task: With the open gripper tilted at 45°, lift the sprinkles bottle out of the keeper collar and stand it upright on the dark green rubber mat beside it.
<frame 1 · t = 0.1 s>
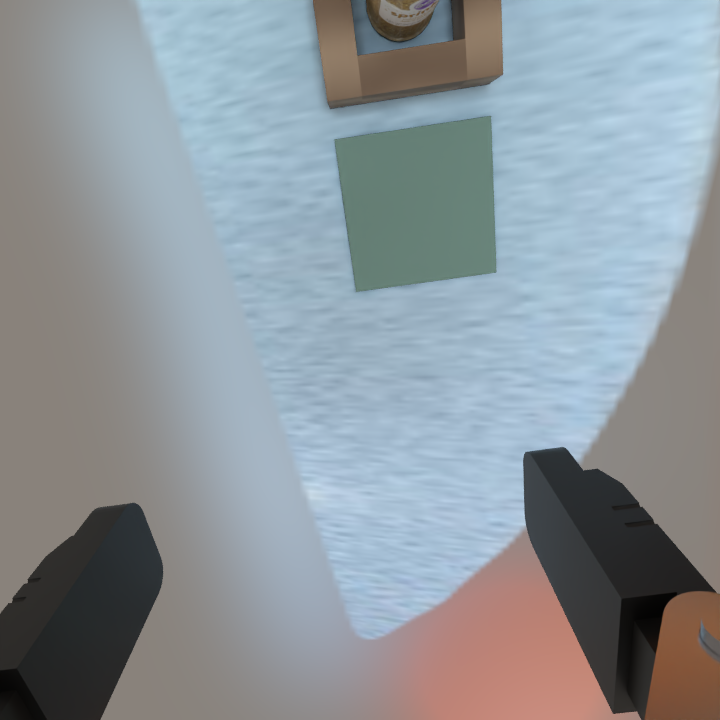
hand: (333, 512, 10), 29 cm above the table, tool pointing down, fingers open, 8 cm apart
sprinkles bottle: (399, 2, 31), resting in keeper collar
keeper collar: (400, 1, 31), on the table
rubber mat: (418, 208, 36), on the table
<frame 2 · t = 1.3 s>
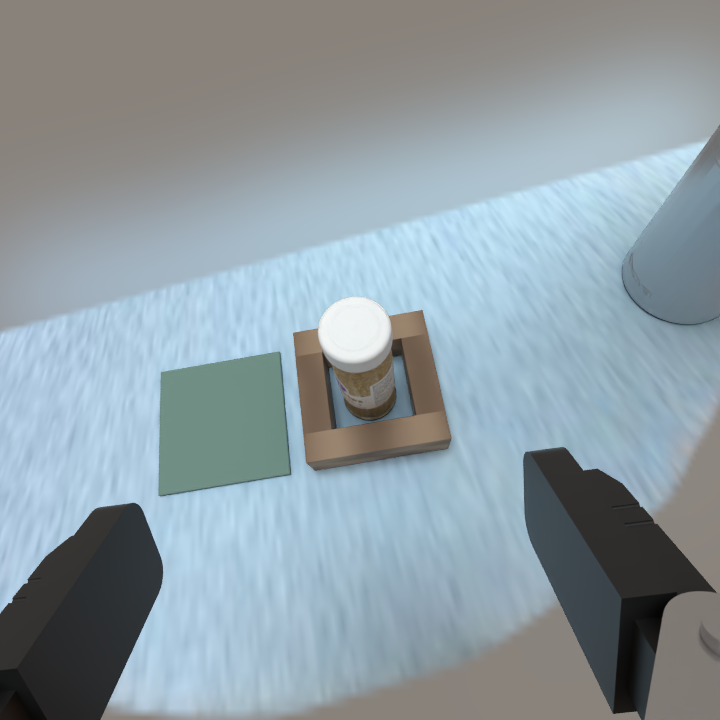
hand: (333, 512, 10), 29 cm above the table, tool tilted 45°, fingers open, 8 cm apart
sprinkles bottle: (370, 396, 41), resting in keeper collar
keeper collar: (370, 396, 41), on the table
rubber mat: (223, 421, 42), on the table
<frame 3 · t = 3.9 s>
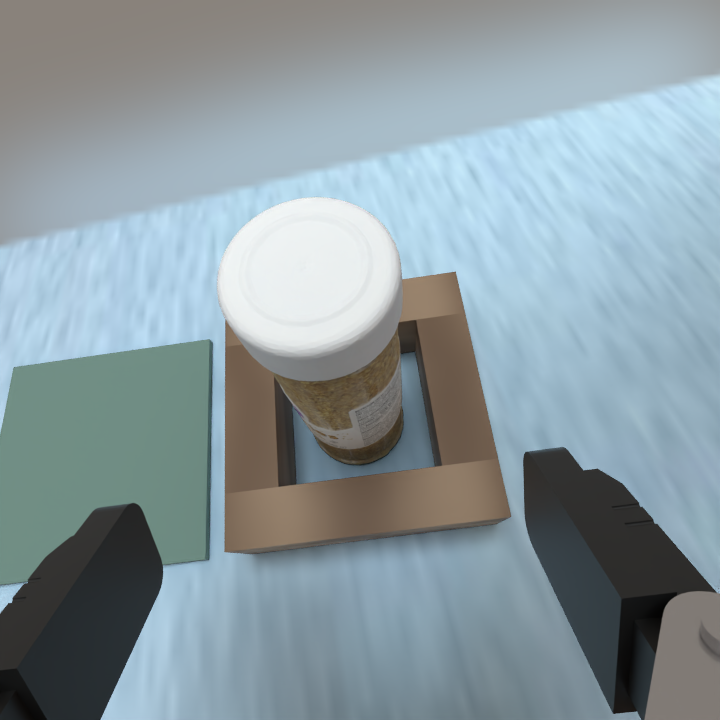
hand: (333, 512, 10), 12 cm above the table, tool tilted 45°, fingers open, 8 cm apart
sprinkles bottle: (359, 422, 24), resting in keeper collar
keeper collar: (359, 421, 24), on the table
rubber mat: (104, 455, 24), on the table
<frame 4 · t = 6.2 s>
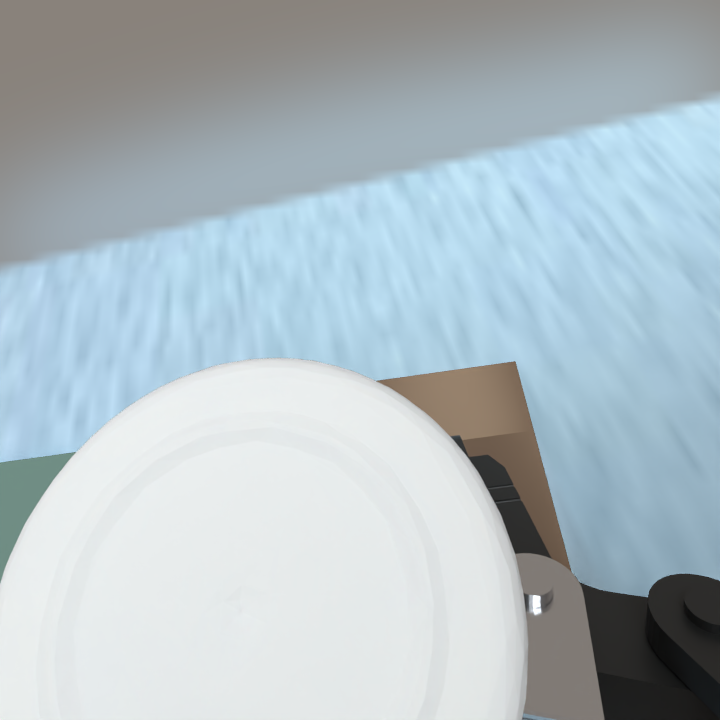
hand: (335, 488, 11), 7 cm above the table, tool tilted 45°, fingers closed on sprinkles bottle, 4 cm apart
sprinkles bottle: (369, 574, 16), resting in keeper collar, touching gripper
keeper collar: (369, 574, 16), on the table
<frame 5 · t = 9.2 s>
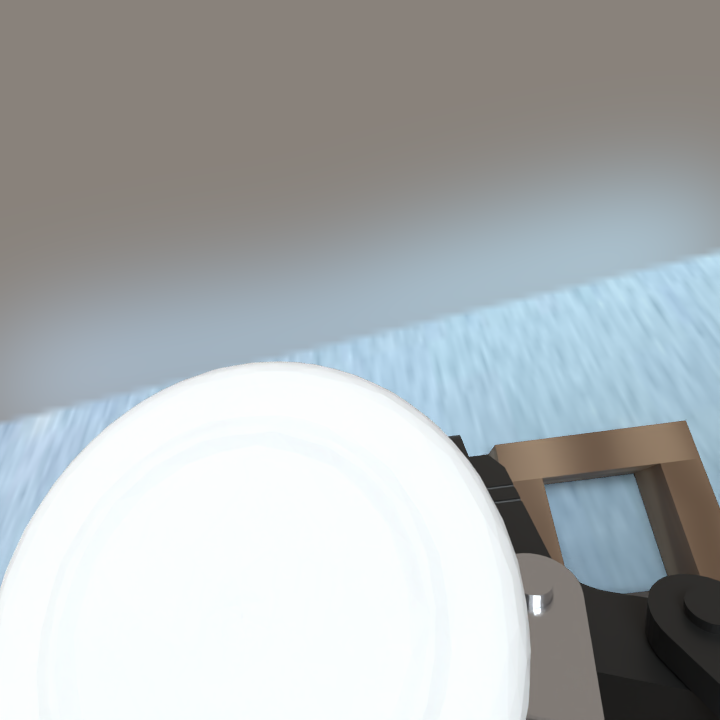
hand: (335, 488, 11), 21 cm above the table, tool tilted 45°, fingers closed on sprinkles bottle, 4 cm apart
sprinkles bottle: (370, 576, 16), point 15 cm above the table, touching gripper
keeper collar: (596, 534, 29), on the table
when the fingers open (8 cm above the table, at t = 12.1 s): sprinkles bottle drops 1 cm, resting on rubber mat.
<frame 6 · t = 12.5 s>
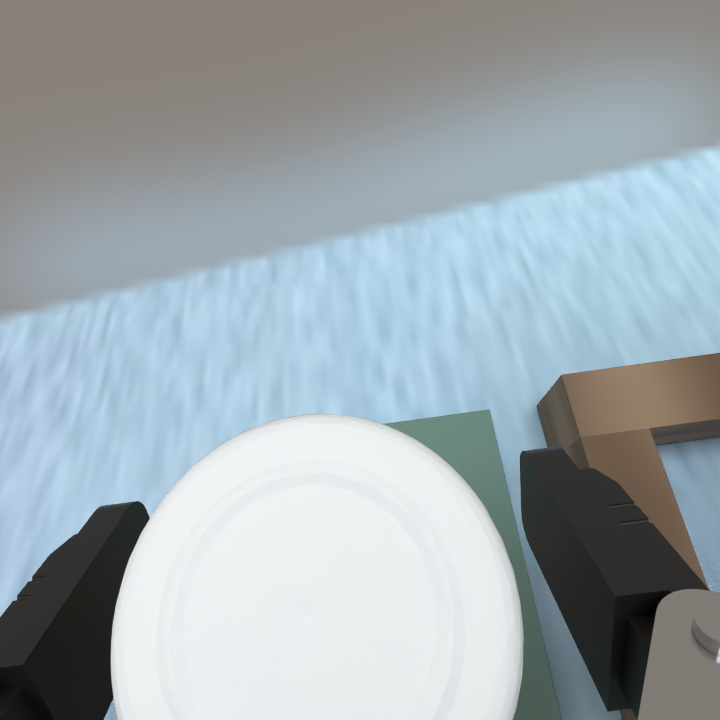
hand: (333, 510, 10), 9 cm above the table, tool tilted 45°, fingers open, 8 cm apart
sprinkles bottle: (376, 580, 17), resting on rubber mat
rubber mat: (372, 574, 18), on the table
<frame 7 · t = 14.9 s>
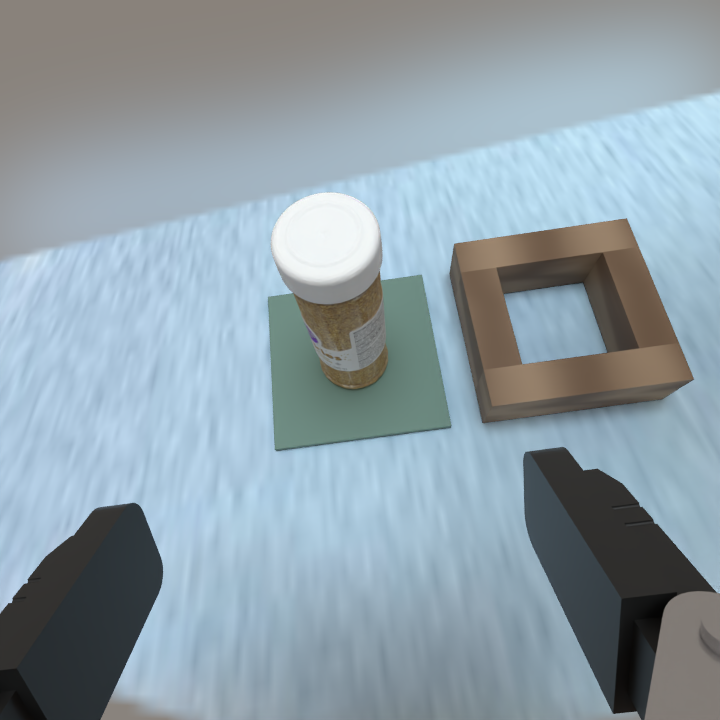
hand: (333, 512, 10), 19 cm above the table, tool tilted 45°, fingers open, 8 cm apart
sprinkles bottle: (355, 360, 32), resting on rubber mat
keeper collar: (547, 331, 32), on the table
rubber mat: (353, 358, 32), on the table
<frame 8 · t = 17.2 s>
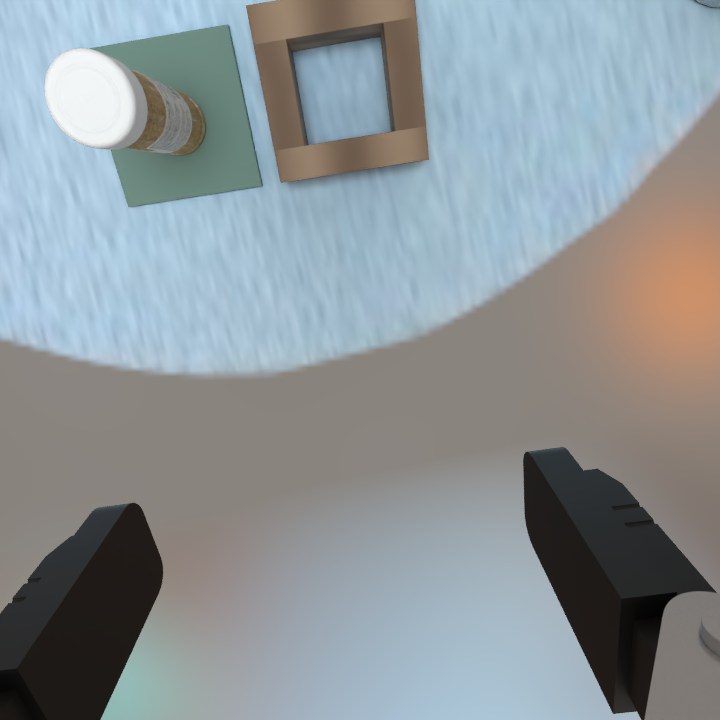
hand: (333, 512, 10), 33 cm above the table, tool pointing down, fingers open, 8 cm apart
sprinkles bottle: (178, 124, 37), resting on rubber mat
keeper collar: (343, 94, 36), on the table
rubber mat: (176, 121, 37), on the table
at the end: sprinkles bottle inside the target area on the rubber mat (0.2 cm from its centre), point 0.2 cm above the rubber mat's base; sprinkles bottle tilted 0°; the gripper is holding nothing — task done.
